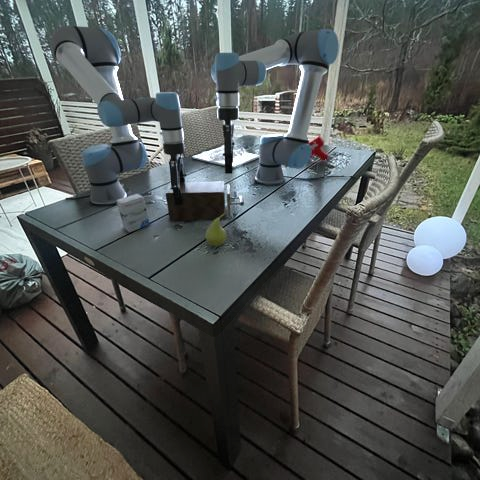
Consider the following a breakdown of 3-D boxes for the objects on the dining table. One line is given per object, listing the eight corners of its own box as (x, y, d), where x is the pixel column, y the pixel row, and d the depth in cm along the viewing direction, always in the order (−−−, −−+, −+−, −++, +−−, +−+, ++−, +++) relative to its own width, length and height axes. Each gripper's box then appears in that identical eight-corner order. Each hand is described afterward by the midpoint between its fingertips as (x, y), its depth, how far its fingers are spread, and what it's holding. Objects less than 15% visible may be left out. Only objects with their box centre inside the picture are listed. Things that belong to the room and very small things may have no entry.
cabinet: (225, 207, 117) (224, 181, 111) (224, 219, 108) (223, 191, 102) (174, 208, 117) (170, 182, 110) (169, 221, 107) (165, 193, 101)
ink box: (144, 220, 108) (137, 192, 101) (150, 224, 105) (144, 196, 98) (123, 228, 103) (115, 199, 96) (129, 232, 100) (121, 203, 93)
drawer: (243, 205, 117) (243, 183, 111) (244, 216, 108) (244, 193, 103) (182, 206, 116) (179, 185, 110) (179, 217, 107) (175, 194, 102)
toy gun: (332, 155, 171) (320, 134, 167) (331, 157, 167) (319, 136, 164) (306, 170, 181) (294, 151, 177) (306, 172, 177) (293, 153, 174)
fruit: (204, 241, 94) (201, 210, 88) (224, 237, 97) (223, 206, 90) (209, 251, 89) (206, 219, 83) (230, 246, 91) (229, 215, 85)
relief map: (234, 168, 162) (234, 159, 159) (192, 158, 180) (191, 150, 177) (259, 157, 180) (259, 149, 178) (219, 149, 198) (218, 142, 195)
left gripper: (168, 134, 106) (176, 187, 118) (155, 150, 86) (166, 211, 98) (187, 134, 106) (193, 187, 118) (178, 150, 87) (186, 211, 99)
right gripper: (219, 102, 104) (221, 158, 116) (214, 111, 83) (217, 178, 94) (238, 102, 104) (239, 158, 116) (238, 111, 83) (238, 178, 94)
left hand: (181, 198), depth 108 cm, fingers closed on cabinet, 11 cm apart
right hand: (229, 167), depth 105 cm, fingers open, 13 cm apart
